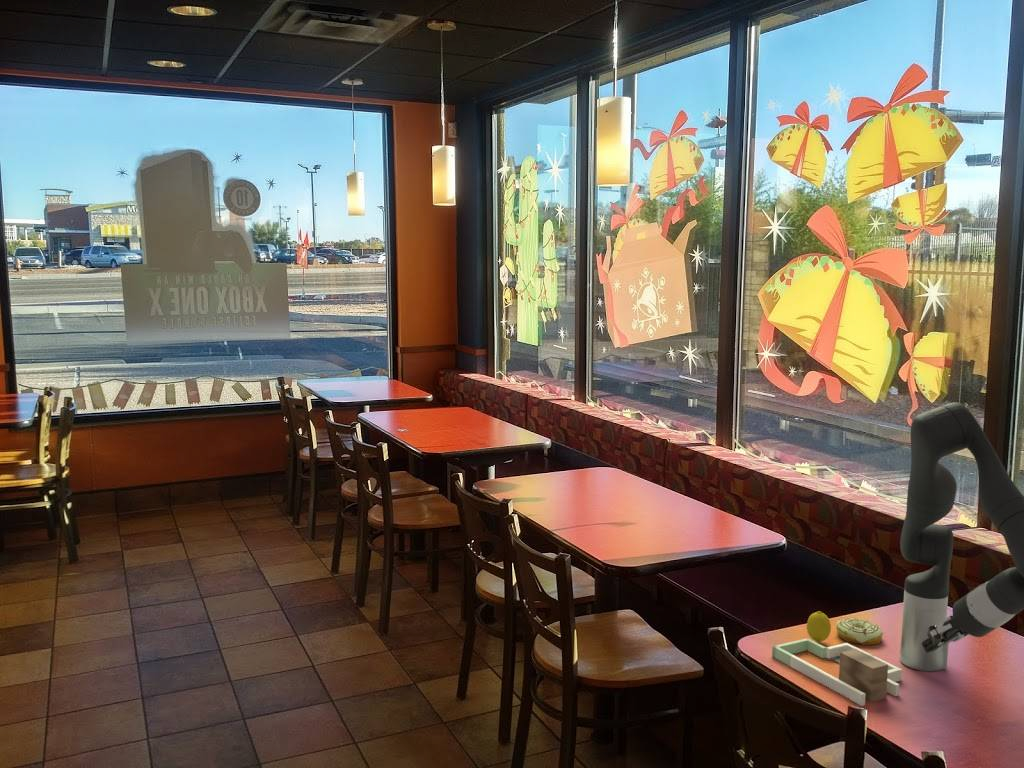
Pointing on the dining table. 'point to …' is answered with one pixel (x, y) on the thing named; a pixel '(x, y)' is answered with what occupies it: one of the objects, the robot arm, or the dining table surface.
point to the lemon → (818, 626)
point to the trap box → (839, 685)
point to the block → (864, 673)
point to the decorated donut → (859, 631)
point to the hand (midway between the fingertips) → (926, 647)
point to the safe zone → (797, 649)
